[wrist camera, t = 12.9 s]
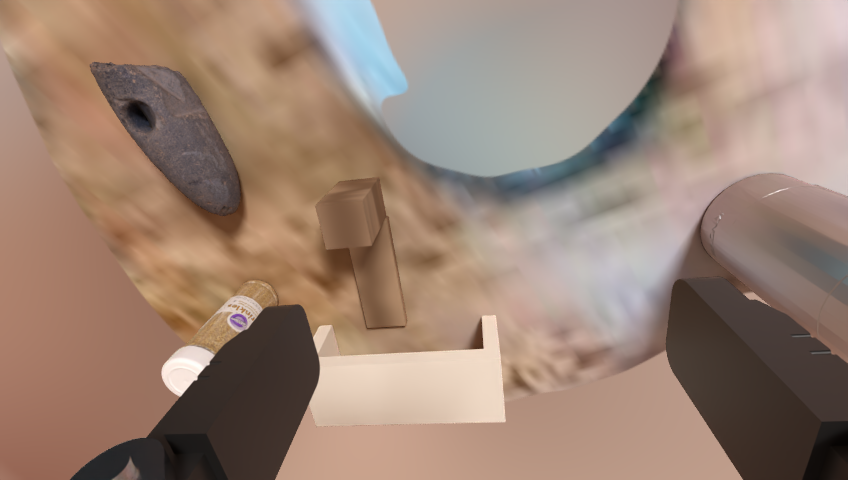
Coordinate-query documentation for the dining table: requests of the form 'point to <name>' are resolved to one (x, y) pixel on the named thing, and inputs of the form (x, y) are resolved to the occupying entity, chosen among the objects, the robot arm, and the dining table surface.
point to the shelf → (409, 384)
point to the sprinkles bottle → (217, 334)
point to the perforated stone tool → (172, 131)
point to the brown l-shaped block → (365, 247)
